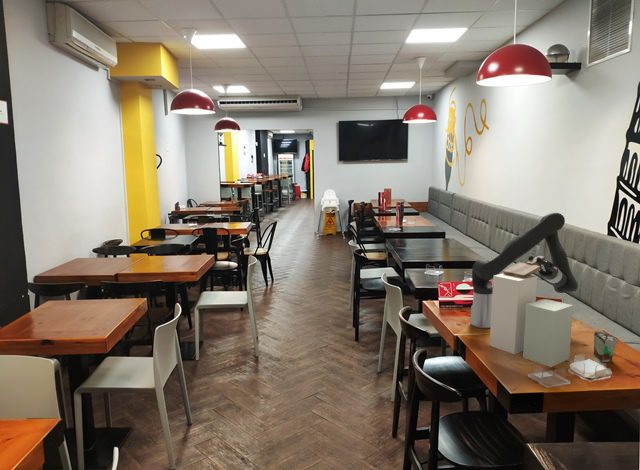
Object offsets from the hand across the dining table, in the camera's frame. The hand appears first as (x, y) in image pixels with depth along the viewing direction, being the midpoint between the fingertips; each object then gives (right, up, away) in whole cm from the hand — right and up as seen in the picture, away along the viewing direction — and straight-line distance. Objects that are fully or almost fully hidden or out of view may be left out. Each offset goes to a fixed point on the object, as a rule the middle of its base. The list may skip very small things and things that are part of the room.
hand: (533, 258), depth 209 cm
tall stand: (-11, -39, -2) cm, 41 cm away
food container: (+22, -41, -17) cm, 50 cm away
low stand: (-2, -41, -15) cm, 44 cm away
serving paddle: (-2, -4, -1) cm, 5 cm away
